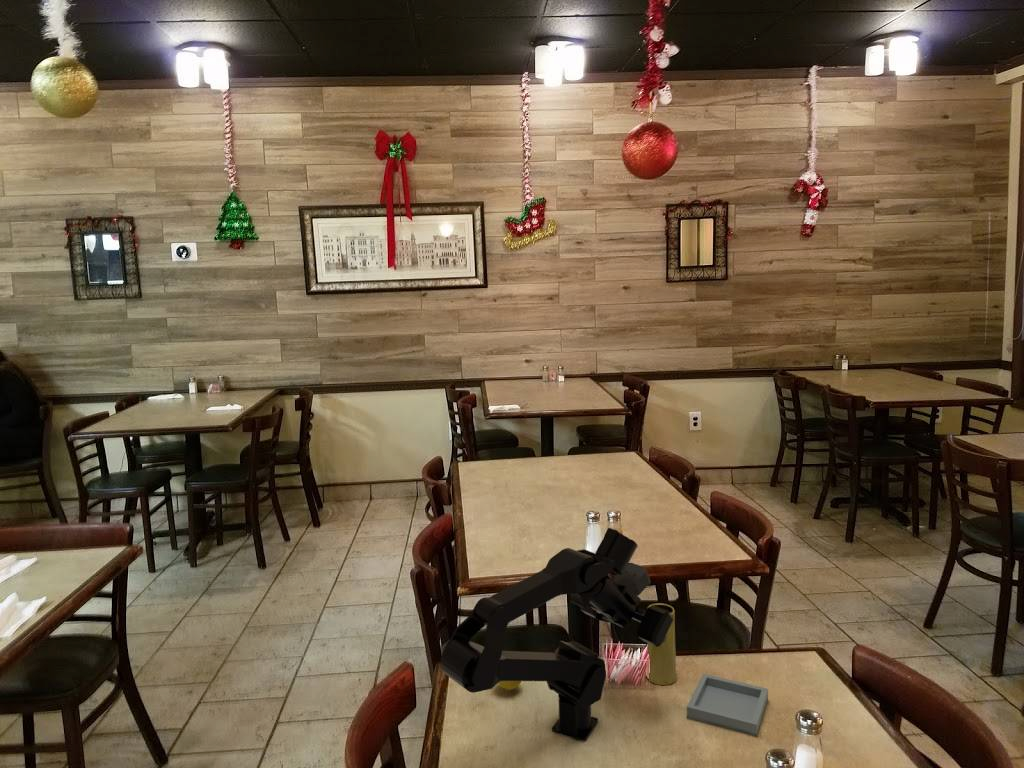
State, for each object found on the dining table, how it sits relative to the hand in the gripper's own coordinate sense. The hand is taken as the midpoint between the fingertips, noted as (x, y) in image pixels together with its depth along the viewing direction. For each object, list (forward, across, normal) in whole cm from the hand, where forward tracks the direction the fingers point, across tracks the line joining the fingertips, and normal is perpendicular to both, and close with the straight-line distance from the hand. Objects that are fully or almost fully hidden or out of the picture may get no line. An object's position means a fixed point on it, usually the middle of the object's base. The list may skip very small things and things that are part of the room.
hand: (645, 631), depth 134 cm
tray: (+12, -15, +4) cm, 19 cm away
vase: (+11, 0, +5) cm, 12 cm away
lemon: (-6, +17, +22) cm, 29 cm away
